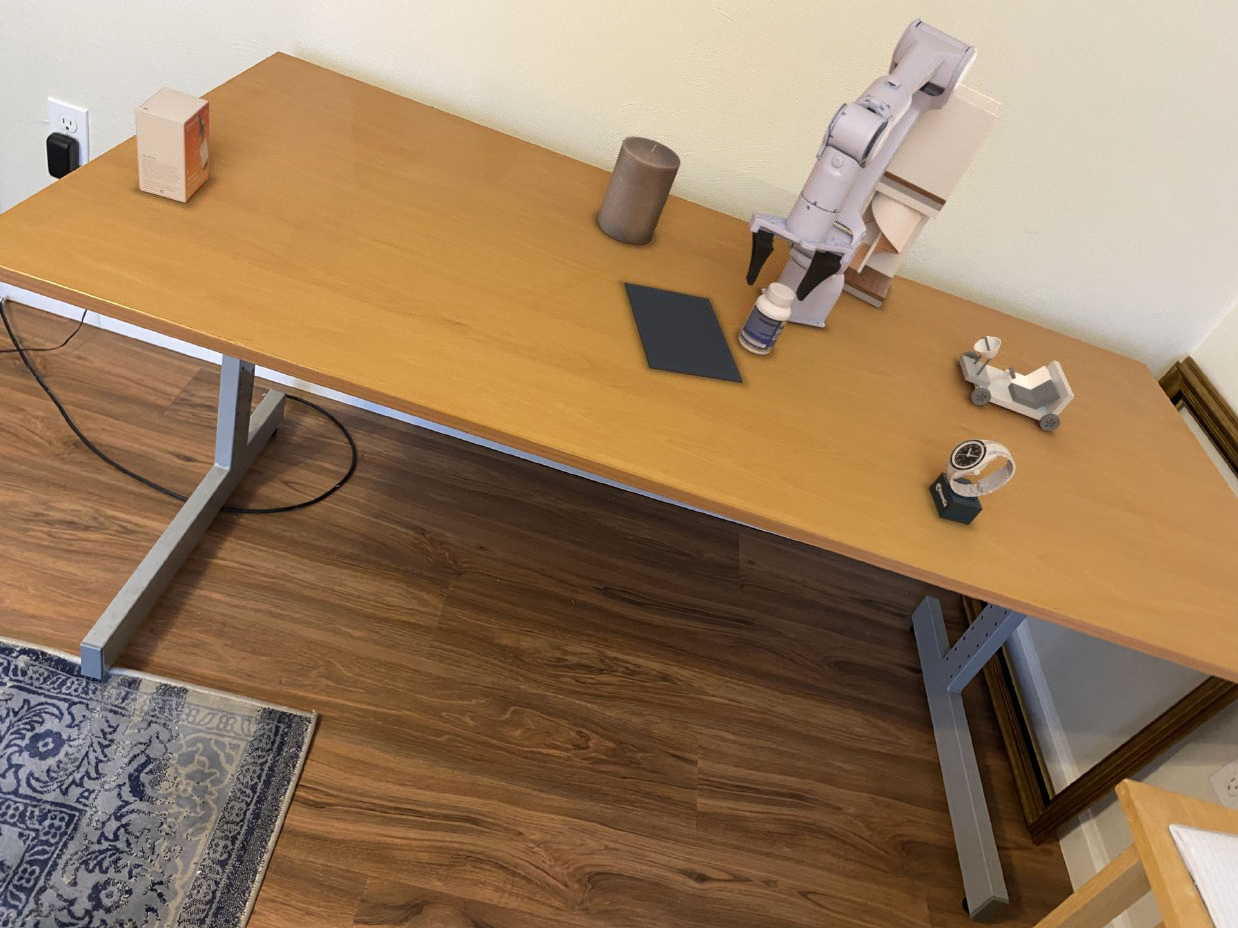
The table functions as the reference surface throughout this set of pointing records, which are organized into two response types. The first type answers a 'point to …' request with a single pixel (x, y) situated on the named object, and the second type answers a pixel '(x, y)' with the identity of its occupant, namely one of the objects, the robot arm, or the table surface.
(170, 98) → the small box
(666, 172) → the pillar candle
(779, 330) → the pill bottle
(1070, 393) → the toy car
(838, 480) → the table surface
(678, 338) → the felt mat
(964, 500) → the watch
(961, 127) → the tall cream cabinet
